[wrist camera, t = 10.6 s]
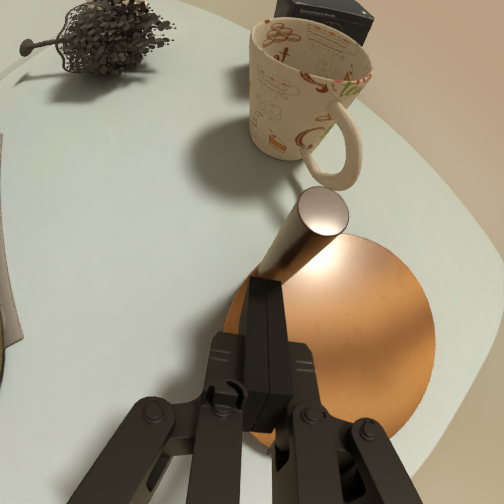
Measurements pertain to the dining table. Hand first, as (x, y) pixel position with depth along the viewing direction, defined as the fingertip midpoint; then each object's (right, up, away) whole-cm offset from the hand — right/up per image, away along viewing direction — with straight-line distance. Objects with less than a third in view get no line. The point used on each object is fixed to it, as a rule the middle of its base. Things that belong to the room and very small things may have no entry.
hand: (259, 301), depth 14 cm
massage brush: (-19, +25, +1) cm, 31 cm away
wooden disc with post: (+5, -4, +3) cm, 7 cm away
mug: (+3, +11, +9) cm, 15 cm away
